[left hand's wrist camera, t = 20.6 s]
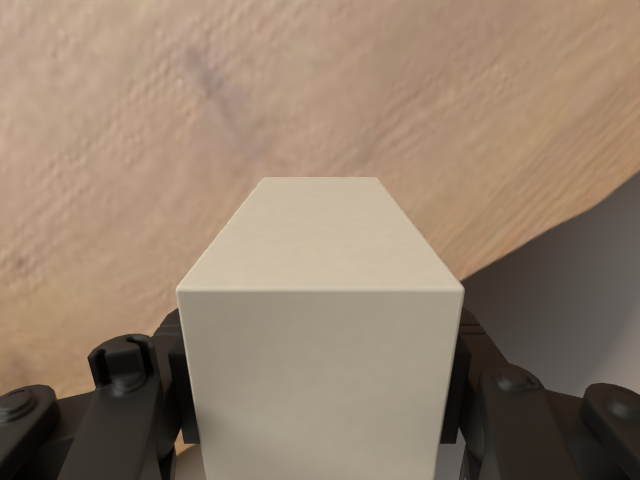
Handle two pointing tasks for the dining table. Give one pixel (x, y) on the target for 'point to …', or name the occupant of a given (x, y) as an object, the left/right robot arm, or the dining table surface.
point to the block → (320, 336)
